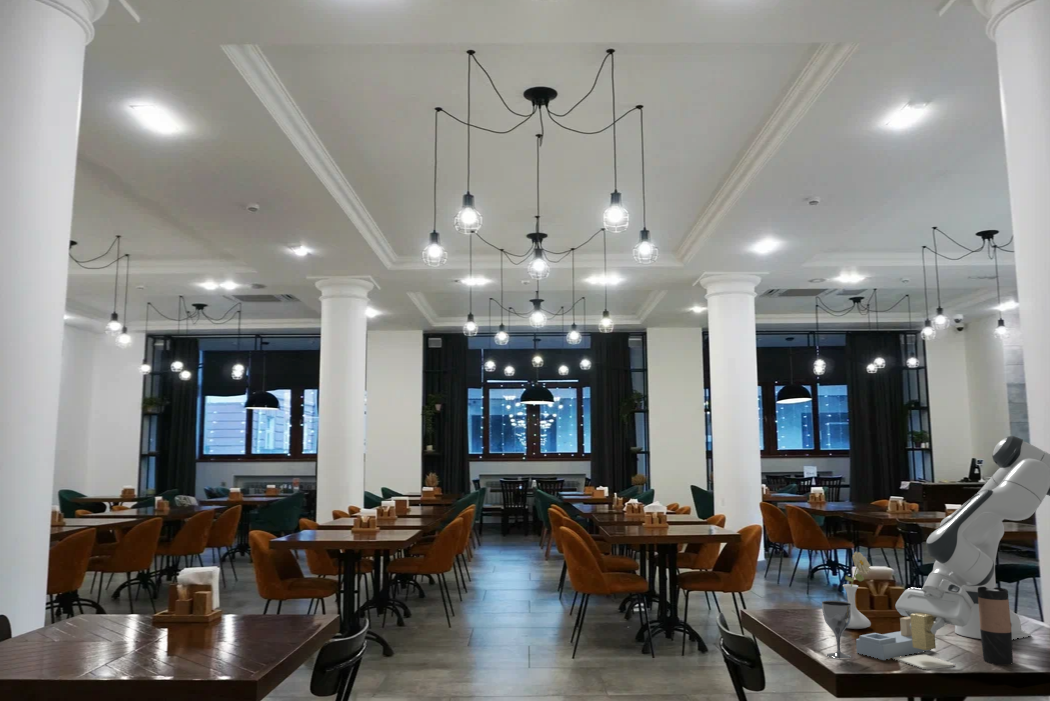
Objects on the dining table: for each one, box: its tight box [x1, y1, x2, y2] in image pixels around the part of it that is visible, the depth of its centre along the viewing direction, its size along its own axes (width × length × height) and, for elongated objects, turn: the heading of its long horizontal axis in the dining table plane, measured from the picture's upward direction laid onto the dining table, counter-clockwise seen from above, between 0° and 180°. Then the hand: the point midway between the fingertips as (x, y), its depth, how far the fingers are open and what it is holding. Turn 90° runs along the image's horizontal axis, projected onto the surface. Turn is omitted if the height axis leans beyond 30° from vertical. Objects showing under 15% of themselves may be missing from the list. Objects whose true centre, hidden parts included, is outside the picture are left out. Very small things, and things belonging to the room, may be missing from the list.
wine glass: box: [821, 600, 852, 659], centre depth 227 cm, size 8×8×15 cm
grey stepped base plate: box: [855, 616, 932, 661], centre depth 232 cm, size 22×9×9 cm, turn 119°
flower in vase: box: [842, 551, 872, 630], centre depth 265 cm, size 13×11×25 cm
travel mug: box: [978, 586, 1014, 665], centre depth 221 cm, size 8×8×20 cm
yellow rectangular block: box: [910, 613, 937, 650], centre depth 220 cm, size 4×4×9 cm
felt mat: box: [892, 653, 956, 670], centre depth 219 cm, size 11×11×1 cm
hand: (921, 630), depth 220 cm, fingers closed on yellow rectangular block, 4 cm apart
